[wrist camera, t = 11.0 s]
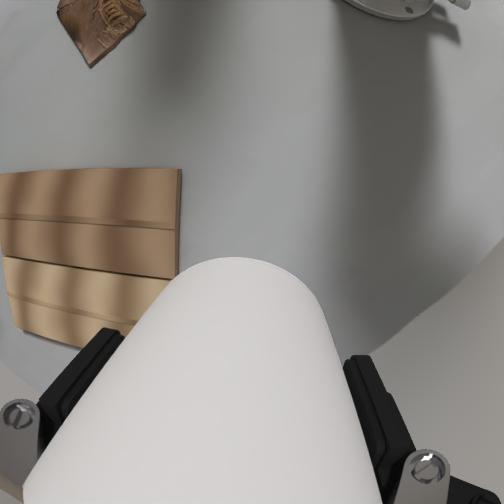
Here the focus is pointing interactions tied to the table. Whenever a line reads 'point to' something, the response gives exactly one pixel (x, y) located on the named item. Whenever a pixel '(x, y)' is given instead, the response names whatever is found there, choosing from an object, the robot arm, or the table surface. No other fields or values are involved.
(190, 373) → the can
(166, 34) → the table surface
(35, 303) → the oak board
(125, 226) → the plank
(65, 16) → the wooden fragment
